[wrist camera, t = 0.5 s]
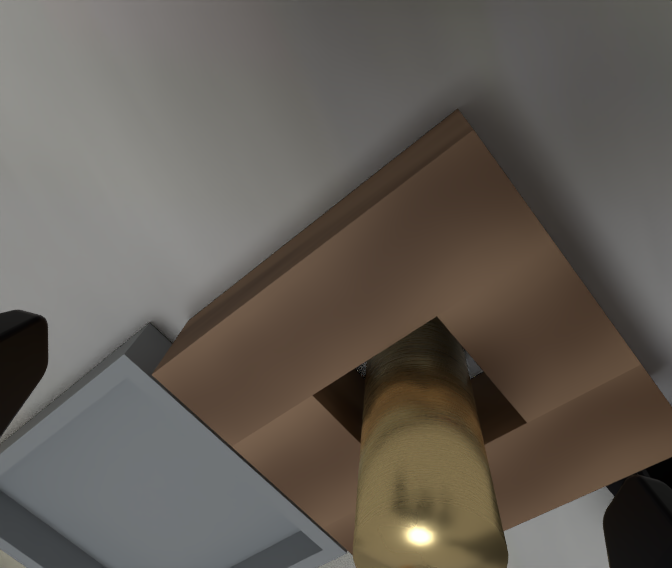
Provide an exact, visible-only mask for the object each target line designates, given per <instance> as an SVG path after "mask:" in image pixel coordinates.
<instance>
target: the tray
mask: <svg viewBox="0 0 672 568" xmlns="http://www.w3.org/2000/svg"><path fill="white" fill-rule="evenodd" d="M171 345H172V343H171V342H170V341H169V340H168V339H167V338H165V337H164V336H163V335H162V334H161V333H160V332H159V331H158V330H157V329H156V328H155V327H154V326H153V325H152V324H150V323H148V324H147V325H146V326H145V327H144V328H142V329H141V330H140V331H139V332H137V333H136V334H135V335H134V336H133V337H131V338H130V339H129V340H128V341H126V342H125V343H124V344H123V345H122V346H120V347H119V348H118V349H117V350H115V351H114V352H113V353H112V354H111V355H109V356H108V357H107V358H106V359H104V360H103V361H102V362H101V363H99V364H98V365H97V366H96V367H95V368H93V369H92V370H91V371H90V372H88V373H87V374H86V375H85V376H84V377H82V378H81V379H80V380H79V381H77V382H76V383H75V384H74V385H73V386H71V387H70V388H69V389H68V390H66V391H65V392H64V393H63V394H62V395H60V396H59V397H58V398H57V399H55V400H54V401H53V402H52V403H50V404H49V405H48V406H47V407H46V408H44V409H43V410H42V411H41V412H39V413H38V414H37V415H36V416H35V417H33V418H32V419H31V420H30V421H28V422H27V423H26V424H25V425H24V426H22V427H21V428H20V429H19V430H17V431H16V432H15V433H14V434H12V435H11V436H10V437H9V438H8V439H6V440H5V441H4V442H3V443H1V444H0V549H1V550H2V551H4V552H5V553H7V554H8V555H10V556H11V557H12V558H14V559H15V560H17V561H18V562H20V563H21V564H23V565H24V566H25V567H27V568H317V567H319V566H322V565H324V564H326V563H328V562H330V561H332V560H334V559H336V558H338V557H340V556H342V555H344V554H346V553H347V550H346V549H345V548H344V547H343V546H342V545H341V544H340V543H339V542H337V541H336V540H335V539H334V538H333V537H332V536H331V535H330V534H328V533H327V532H326V531H325V530H324V529H323V528H322V527H321V526H320V525H318V524H317V523H316V522H315V521H314V520H313V519H312V518H311V517H310V516H308V515H307V514H306V513H305V512H304V511H303V510H302V509H301V508H299V507H298V506H297V505H296V504H295V503H294V502H293V501H292V500H291V499H289V498H288V497H287V496H286V495H285V494H284V493H283V492H282V491H281V490H279V489H278V488H277V487H276V486H275V485H274V484H273V483H272V482H270V481H269V480H268V479H267V478H266V477H265V476H264V475H263V474H262V473H260V472H259V471H258V470H257V469H256V468H255V467H254V466H253V465H252V464H250V463H249V462H248V461H247V460H246V459H245V458H244V457H243V456H241V455H240V454H239V453H238V452H237V451H236V450H235V449H234V448H233V447H231V446H230V445H229V444H228V443H227V442H226V441H225V440H224V439H223V438H221V437H220V436H219V435H218V434H217V433H216V432H215V431H214V430H213V429H211V428H210V427H209V426H208V425H207V424H206V423H205V422H204V421H202V420H201V419H200V418H199V417H198V416H197V415H196V414H195V413H194V412H192V411H191V410H190V409H189V408H188V407H187V406H186V405H185V404H184V403H182V402H181V401H180V400H179V399H178V398H177V397H176V396H175V395H173V394H172V393H171V392H170V391H169V390H168V389H167V388H166V387H165V386H163V385H162V384H161V383H160V382H159V381H158V380H157V379H156V378H155V377H153V376H152V373H153V372H154V370H155V369H156V367H157V366H158V364H159V363H160V362H161V360H162V359H163V357H164V356H165V354H166V353H167V351H168V350H169V348H170V347H171Z"/></svg>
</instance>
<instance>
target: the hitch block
mask: <svg viewBox="0 0 672 568" xmlns="http://www.w3.org/2000/svg"><path fill="white" fill-rule="evenodd" d="M436 316H437V317H438V318H439V319H440V320H441V321H442V323H443V324H444V325H445V326H446V327H447V329H448V330H449V331H450V332H451V333H452V335H453V336H454V337H455V338H456V339H457V340H458V342H459V343H460V344H461V345H462V346H463V348H464V349H465V350H466V351H467V352H468V353H469V355H470V356H471V357H472V358H473V359H474V361H475V362H476V363H477V364H478V365H479V366H480V368H481V369H482V370H483V371H484V372H483V373H481V374H480V375H478V376H476V377H474V378H473V379H471V380H470V381H471V386H472V390H473V395H474V400H475V404H476V409H477V413H478V418H479V422H480V427H481V431H482V436H483V441H484V445H485V450H486V454H487V459H488V463H489V468H490V472H491V477H492V481H493V486H494V491H495V495H496V500H497V504H498V509H499V513H500V518H501V522H502V527H503V531H505V530H507V529H510V528H512V527H514V526H516V525H519V524H521V523H523V522H525V521H528V520H530V519H532V518H535V517H537V516H539V515H541V514H544V513H546V512H548V511H550V510H553V509H555V508H557V507H559V506H562V505H564V504H566V503H569V502H571V501H573V500H575V499H578V498H580V497H582V496H584V495H587V494H589V493H591V492H593V491H596V490H598V489H600V488H602V487H605V486H607V485H609V484H612V483H614V482H616V481H618V480H621V479H623V478H625V477H627V476H630V475H632V474H634V473H636V472H639V471H641V470H643V469H646V468H648V467H650V466H652V465H655V464H657V463H659V462H661V461H664V460H666V459H668V458H670V457H672V406H671V405H670V404H669V402H668V401H667V399H666V398H665V397H664V395H663V394H662V392H661V391H660V390H659V388H658V387H657V385H656V384H655V383H654V381H653V380H652V378H651V377H650V376H649V374H648V373H647V371H646V370H645V369H644V367H643V366H642V364H641V363H640V362H639V360H638V359H637V357H636V356H635V355H634V353H633V352H632V351H631V349H630V348H629V346H628V345H627V344H626V342H625V341H624V339H623V338H622V337H621V335H620V334H619V332H618V331H617V330H616V328H615V327H614V325H613V324H612V323H611V321H610V320H609V318H608V317H607V316H606V314H605V313H604V311H603V310H602V309H601V307H600V306H599V304H598V303H597V302H596V300H595V299H594V297H593V296H592V295H591V293H590V292H589V290H588V289H587V288H586V286H585V285H584V283H583V282H582V281H581V279H580V278H579V276H578V275H577V274H576V272H575V271H574V269H573V268H572V267H571V265H570V264H569V262H568V261H567V260H566V258H565V257H564V255H563V254H562V253H561V251H560V250H559V248H558V247H557V246H556V244H555V243H554V241H553V240H552V239H551V237H550V236H549V234H548V233H547V232H546V230H545V229H544V227H543V226H542V225H541V223H540V222H539V220H538V219H537V218H536V216H535V215H534V213H533V212H532V211H531V209H530V208H529V206H528V205H527V204H526V202H525V201H524V199H523V198H522V197H521V195H520V194H519V192H518V191H517V190H516V188H515V187H514V185H513V184H512V183H511V181H510V180H509V178H508V177H507V176H506V174H505V173H504V171H503V170H502V169H501V167H500V166H499V164H498V163H497V162H496V160H495V159H494V157H493V156H492V155H491V153H490V152H489V150H488V149H487V148H486V146H485V145H484V144H483V142H482V141H481V139H480V138H479V137H478V135H477V134H476V132H475V131H474V130H473V128H472V127H471V126H470V124H469V123H468V122H467V120H466V119H465V118H464V116H463V115H462V114H461V113H460V111H459V110H458V109H457V110H455V111H454V112H453V113H452V114H450V115H449V116H448V117H446V118H445V119H444V120H443V121H441V122H440V123H439V124H438V125H436V126H435V127H434V128H433V129H431V130H430V131H429V132H427V133H426V134H425V135H424V136H422V137H421V138H420V139H419V140H417V141H416V142H415V143H413V144H412V145H411V146H410V147H408V148H407V149H406V150H405V151H403V152H402V153H401V154H399V155H398V156H397V157H396V158H394V159H393V160H392V161H391V162H389V163H388V164H387V165H385V166H384V167H383V168H382V169H380V170H379V171H378V172H377V173H375V174H374V175H373V176H372V177H370V178H369V179H368V180H366V181H365V182H364V183H363V184H361V185H360V186H359V187H358V188H356V189H355V190H354V191H352V192H351V193H350V194H349V195H347V196H346V197H345V198H344V199H342V200H341V201H340V202H338V203H337V204H336V205H335V206H333V207H332V208H331V209H330V210H328V211H327V212H326V213H324V214H323V215H322V216H321V217H319V218H318V219H317V220H316V221H314V222H313V223H312V224H311V225H309V226H308V227H307V228H305V229H304V230H303V231H302V232H300V233H299V234H298V235H297V236H295V237H294V238H293V239H291V240H290V241H289V242H288V243H286V244H285V245H284V246H283V247H281V248H280V249H279V250H277V251H276V252H275V253H274V254H272V255H271V256H270V257H269V258H267V259H266V260H265V261H263V262H262V263H261V264H260V265H258V266H257V267H256V268H255V269H253V270H252V271H251V272H250V273H248V274H247V275H246V276H244V277H243V278H242V279H241V280H239V281H238V282H237V283H236V284H234V285H233V286H232V287H230V288H229V289H228V290H227V291H225V292H224V293H223V294H222V295H220V296H219V297H218V298H216V299H215V300H214V301H213V302H211V303H210V304H209V305H208V306H206V307H205V308H204V309H202V310H201V311H200V312H199V313H197V314H196V315H195V316H194V317H192V318H191V319H190V320H189V321H188V322H187V323H186V325H185V326H184V328H183V329H182V331H181V332H180V334H179V335H178V337H177V338H176V340H175V341H174V342H173V344H172V345H171V347H170V348H169V350H168V351H167V353H166V354H165V356H164V357H163V359H162V360H161V362H160V363H159V364H158V366H157V367H156V369H155V370H154V372H153V373H152V376H153V377H155V378H156V379H157V380H158V381H159V382H160V383H161V384H162V385H163V386H165V387H166V388H167V389H168V390H169V391H170V392H171V393H172V394H173V395H175V396H176V397H177V398H178V399H179V400H180V401H181V402H182V403H184V404H185V405H186V406H187V407H188V408H189V409H190V410H191V411H192V412H194V413H195V414H196V415H197V416H198V417H199V418H200V419H201V420H202V421H204V422H205V423H206V424H207V425H208V426H209V427H210V428H211V429H213V430H214V431H215V432H216V433H217V434H218V435H219V436H220V437H221V438H223V439H224V440H225V441H226V442H227V443H228V444H229V445H230V446H231V447H233V448H234V449H235V450H236V451H237V452H238V453H239V454H240V455H241V456H243V457H244V458H245V459H246V460H247V461H248V462H249V463H250V464H252V465H253V466H254V467H255V468H256V469H257V470H258V471H259V472H260V473H262V474H263V475H264V476H265V477H266V478H267V479H268V480H269V481H270V482H272V483H273V484H274V485H275V486H276V487H277V488H278V489H279V490H281V491H282V492H283V493H284V494H285V495H286V496H287V497H288V498H289V499H291V500H292V501H293V502H294V503H295V504H296V505H297V506H298V507H299V508H301V509H302V510H303V511H304V512H305V513H306V514H307V515H308V516H310V517H311V518H312V519H313V520H314V521H315V522H316V523H317V524H318V525H320V526H321V527H322V528H323V529H324V530H325V531H326V532H327V533H328V534H330V535H331V536H332V537H333V538H334V539H335V540H336V541H337V542H339V543H340V544H341V545H342V546H343V547H344V548H345V549H346V550H347V551H349V552H350V553H351V554H352V555H353V541H354V527H355V514H356V500H357V487H358V473H359V459H360V446H361V432H362V419H363V405H364V391H365V379H364V378H363V377H362V376H361V375H360V374H359V373H358V372H357V371H356V370H355V368H356V367H358V366H359V365H361V364H362V363H364V362H366V361H367V360H369V359H370V358H372V357H373V356H375V355H377V354H378V353H380V352H381V351H383V350H384V349H386V348H388V347H389V346H391V345H392V344H394V343H395V342H397V341H399V340H400V339H402V338H403V337H405V336H407V335H408V334H410V333H411V332H413V331H414V330H416V329H418V328H419V327H421V326H422V325H424V324H425V323H427V322H429V321H430V320H432V319H433V318H435V317H436Z"/></svg>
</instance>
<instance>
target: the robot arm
mask: <svg viewBox="0 0 672 568" xmlns="http://www.w3.org/2000/svg"><path fill="white" fill-rule="evenodd" d="M47 365H48V324H47V321H46V319H45V318H44V317H43V316H41V315H38V314H34V313H30V312H26V311H23V310H12V311H8V312H4V313H0V437H1V436H2V434H3V433H4V431H5V430H6V429H7V427H8V426H9V424H10V423H11V421H12V420H13V419H14V417H15V416H16V414H17V413H18V411H19V410H20V409H21V407H22V406H23V404H24V403H25V401H26V400H27V399H28V397H29V396H30V394H31V393H32V391H33V390H34V389H35V387H36V386H37V384H38V383H39V382H40V380H41V379H42V377H43V375H44V373H45V371H46V369H47ZM606 487H607V488H608V489H609V490H610V492H611V493H612V494H613V495H614V496H615V497H614V499H613V500H612V502H611V503H610V505H609V506H608V508H607V509H606V511H605V514H604V518H603V530H604V536H605V542H606V548H607V555H608V561H609V567H610V568H672V457H670V458H668V459H666V460H664V461H661V462H659V463H657V464H655V465H652V466H650V467H648V468H646V469H643V470H641V471H639V472H636V473H634V474H632V475H630V476H627V477H625V478H623V479H621V480H618V481H616V482H614V483H612V484H609V485H607V486H606Z"/></svg>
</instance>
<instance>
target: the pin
mask: <svg viewBox="0 0 672 568" xmlns="http://www.w3.org/2000/svg"><path fill="white" fill-rule="evenodd" d="M353 559H354V563H355V566H356V568H507V564H508V550H507V545H506V541H505V536H504V532H503V527H502V522H501V518H500V513H499V509H498V504H497V500H496V495H495V491H494V486H493V481H492V477H491V472H490V468H489V463H488V459H487V454H486V450H485V445H484V441H483V436H482V431H481V427H480V422H479V418H478V413H477V409H476V404H475V400H474V395H473V390H472V386H471V381H470V377H469V372H468V368H467V363H466V359H465V354H464V350H463V346H462V345H461V344H460V343H459V342H458V340H457V339H456V338H455V337H454V336H453V335H452V333H451V332H450V331H449V330H448V329H447V327H446V326H445V325H444V324H443V323H442V321H441V320H440V319H439V318H438V317H437V316H436V317H435V318H433V319H432V320H430V321H429V322H427V323H425V324H424V325H422V326H421V327H419V328H418V329H416V330H414V331H413V332H411V333H410V334H408V335H407V336H405V337H403V338H402V339H400V340H399V341H397V342H395V343H394V344H392V345H391V346H389V347H388V348H386V349H384V350H383V351H381V352H380V353H378V354H377V355H375V356H373V357H372V358H370V359H369V360H367V364H366V378H365V391H364V405H363V419H362V432H361V446H360V459H359V473H358V487H357V500H356V514H355V527H354V541H353Z"/></svg>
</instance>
